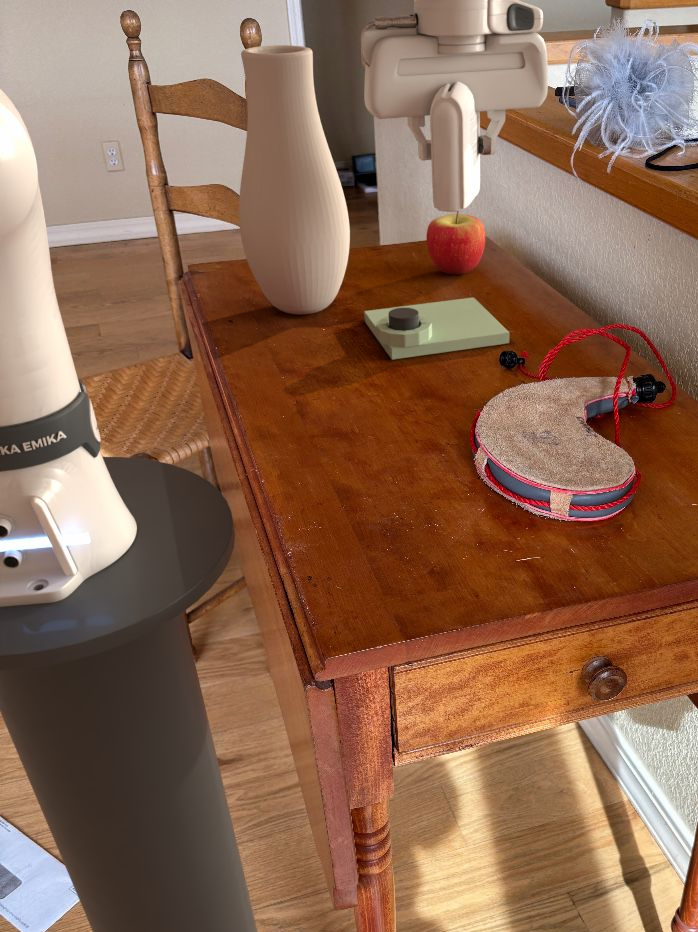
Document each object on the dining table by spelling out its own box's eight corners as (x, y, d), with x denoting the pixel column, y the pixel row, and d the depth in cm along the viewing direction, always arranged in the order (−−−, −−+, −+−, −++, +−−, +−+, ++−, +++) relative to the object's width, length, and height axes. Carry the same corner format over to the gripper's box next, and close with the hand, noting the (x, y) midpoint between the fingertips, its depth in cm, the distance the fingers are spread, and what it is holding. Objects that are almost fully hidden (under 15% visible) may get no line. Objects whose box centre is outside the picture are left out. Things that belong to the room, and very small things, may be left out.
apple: (496, 270, 136) (498, 198, 130) (458, 285, 131) (458, 211, 125) (454, 259, 140) (453, 188, 134) (415, 273, 135) (413, 200, 129)
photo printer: (448, 189, 112) (445, 71, 104) (483, 190, 111) (483, 72, 103) (428, 213, 104) (424, 88, 96) (466, 214, 103) (464, 88, 95)
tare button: (393, 334, 110) (393, 319, 109) (385, 323, 113) (384, 309, 112) (422, 330, 111) (422, 316, 110) (414, 320, 113) (413, 305, 112)
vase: (363, 291, 129) (347, 41, 111) (344, 328, 118) (323, 58, 100) (266, 289, 130) (234, 41, 112) (239, 325, 119) (199, 57, 101)
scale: (386, 361, 110) (385, 337, 108) (358, 322, 120) (357, 299, 118) (510, 344, 114) (510, 320, 112) (473, 307, 124) (473, 285, 122)
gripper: (367, 20, 92) (375, 170, 100) (557, 11, 97) (550, 155, 105) (352, 13, 96) (361, 158, 105) (534, 5, 101) (529, 143, 110)
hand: (457, 156), depth 105 cm, fingers closed on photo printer, 6 cm apart
